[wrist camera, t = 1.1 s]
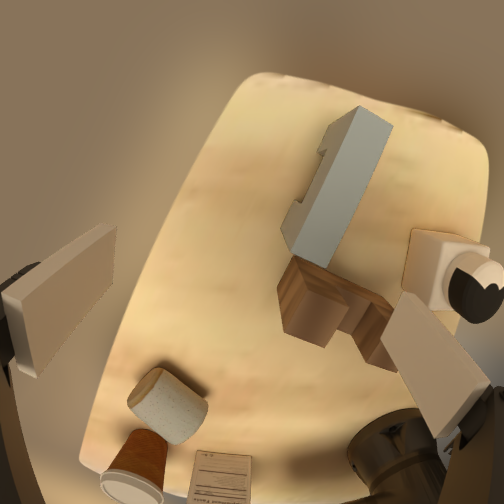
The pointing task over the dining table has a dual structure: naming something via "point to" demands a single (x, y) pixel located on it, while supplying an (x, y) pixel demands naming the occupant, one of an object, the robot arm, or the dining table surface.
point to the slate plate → (336, 185)
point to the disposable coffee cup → (137, 470)
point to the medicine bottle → (453, 275)
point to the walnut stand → (333, 310)
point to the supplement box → (220, 479)
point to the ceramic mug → (167, 406)
